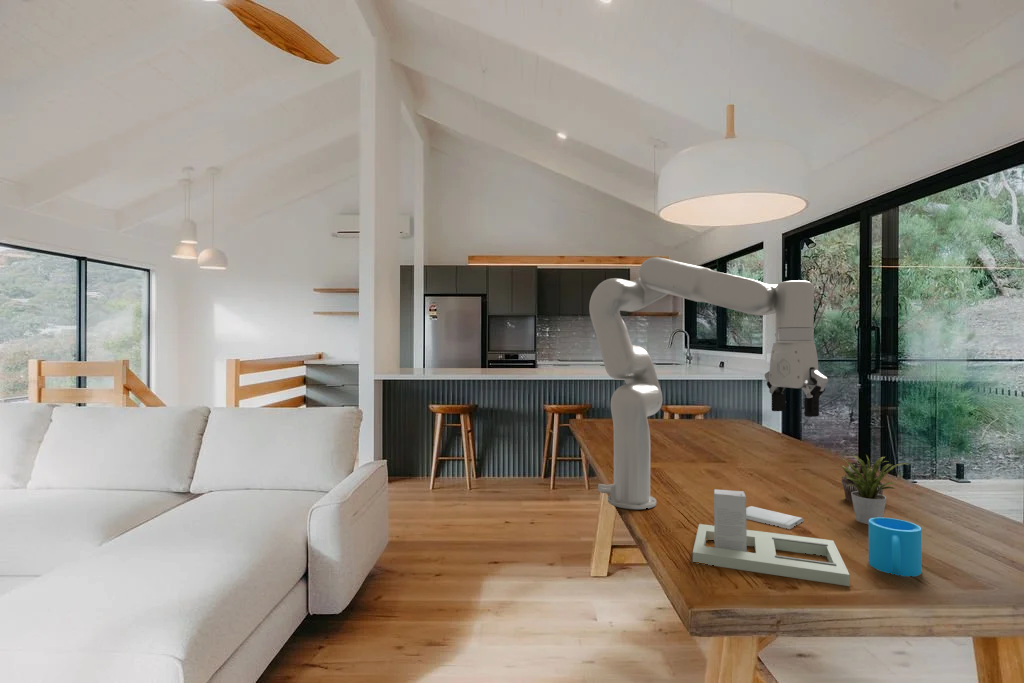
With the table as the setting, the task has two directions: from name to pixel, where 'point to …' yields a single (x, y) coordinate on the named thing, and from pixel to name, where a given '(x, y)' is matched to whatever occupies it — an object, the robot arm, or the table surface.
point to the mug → (895, 546)
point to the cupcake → (846, 482)
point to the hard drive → (772, 517)
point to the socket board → (775, 556)
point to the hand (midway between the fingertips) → (794, 413)
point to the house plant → (868, 490)
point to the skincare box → (730, 520)
